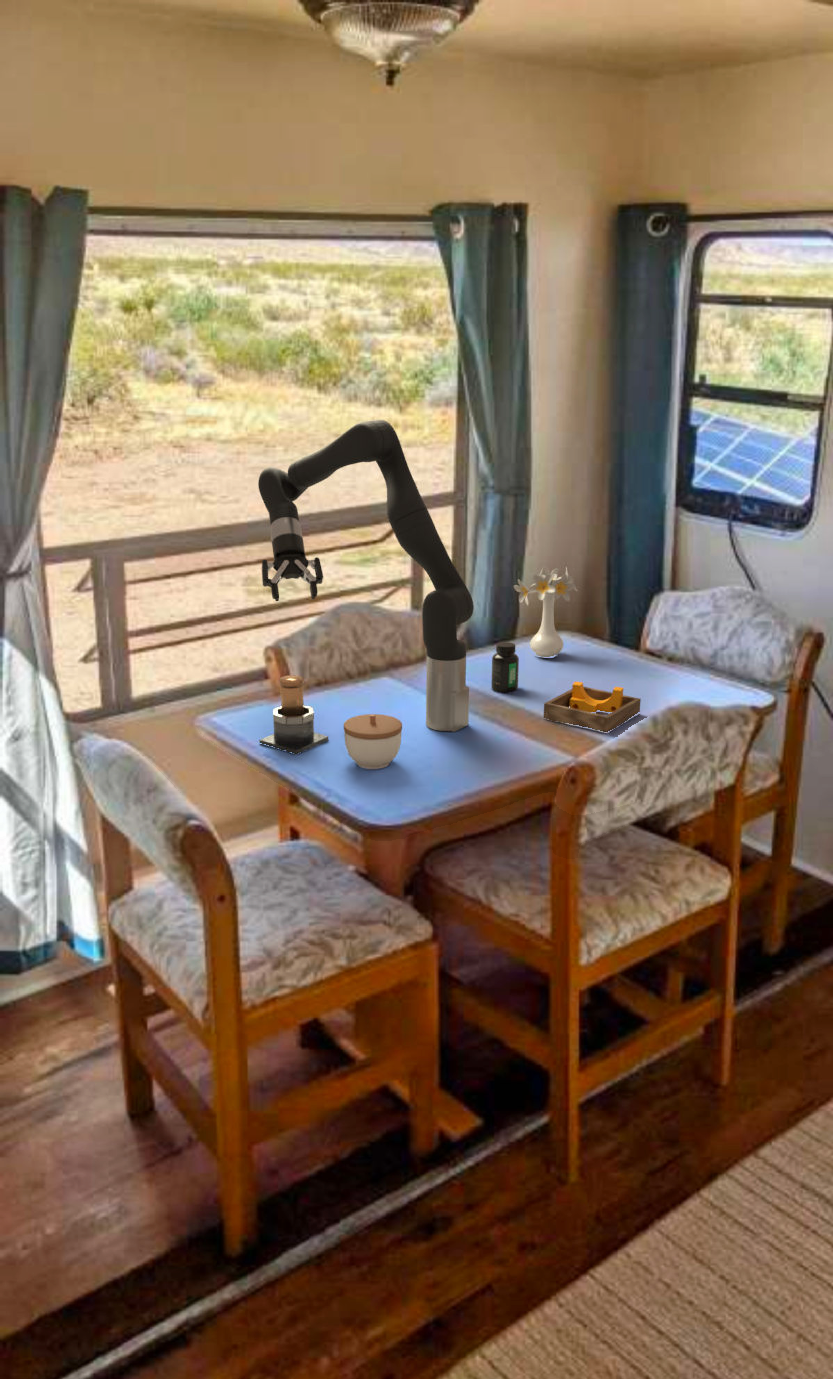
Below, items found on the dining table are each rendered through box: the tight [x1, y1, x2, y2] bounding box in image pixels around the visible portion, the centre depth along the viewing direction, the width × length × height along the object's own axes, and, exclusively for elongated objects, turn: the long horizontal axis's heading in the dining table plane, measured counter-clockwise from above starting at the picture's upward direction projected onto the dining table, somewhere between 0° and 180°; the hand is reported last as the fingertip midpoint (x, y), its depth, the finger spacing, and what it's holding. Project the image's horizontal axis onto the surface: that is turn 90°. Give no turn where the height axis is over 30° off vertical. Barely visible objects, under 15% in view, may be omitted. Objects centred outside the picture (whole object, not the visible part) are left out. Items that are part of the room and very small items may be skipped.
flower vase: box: [513, 566, 579, 657], centre depth 334 cm, size 13×18×25 cm
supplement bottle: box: [490, 641, 520, 694], centre depth 309 cm, size 7×7×12 cm
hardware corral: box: [543, 685, 642, 732], centre depth 291 cm, size 17×17×4 cm
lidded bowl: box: [343, 713, 403, 770], centre depth 261 cm, size 13×13×11 cm
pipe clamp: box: [570, 681, 624, 712], centre depth 294 cm, size 12×4×6 cm, turn 67°
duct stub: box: [259, 704, 329, 755], centre depth 273 cm, size 11×11×8 cm
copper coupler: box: [279, 674, 305, 717], centre depth 271 cm, size 5×5×9 cm
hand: (295, 598), depth 283 cm, fingers open, 8 cm apart
